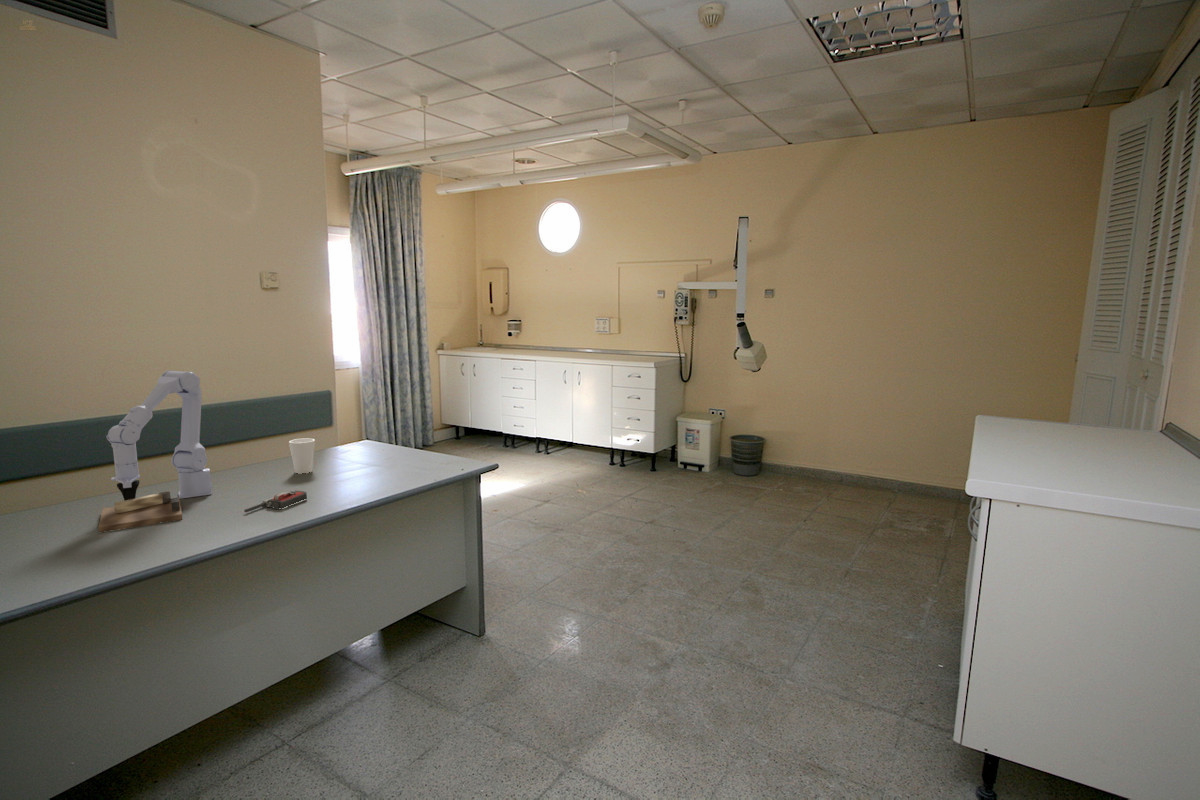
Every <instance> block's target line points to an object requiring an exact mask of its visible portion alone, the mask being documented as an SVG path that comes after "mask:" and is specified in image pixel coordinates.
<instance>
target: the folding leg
mask: <svg viewBox="0 0 1200 800" xmlns="http://www.w3.org/2000/svg"><path fill="white" fill-rule="evenodd" d="M171 499H172V498H171V492H170V491H161V492H157V493H153V494H149V495H144V496H139V497H135V498H134V499H129V500H125V501H124V500H120V501H116V502H114V507H115V512H117V513H123V512H127V511H131V510H136V509H140V508H145V507H149V506H153V505H158V504H162V503H168V502H171Z"/></svg>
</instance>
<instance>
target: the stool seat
mask: <svg viewBox="0 0 1200 800" xmlns="http://www.w3.org/2000/svg"><path fill="white" fill-rule="evenodd" d="M181 519H182V520H183V513H182V505H181V499H179V497H174V498H171V502H168V503H162V504H158V505H153V506H149V507H145V508H140V509H136V510H131V511H127V512H123V513H117V512H115V506H110V507H104V508H103V507H102V511H101V514H100V519H99V524H98V533H99V532H102V533H105V532H104V531H108V532H111V531H110V530H114V531H119V530H118V529H120V530H125V529H124V528H127V529H132V528H131V527H133V528H139V527H145V526H151V525H150V524H152V525H156V524H155V523H158V524H161V523H160V522H164V523H168V522H167V521H170V522H175V521H174V520H176V521H182V520H181ZM144 525H145V526H144ZM138 526H139V527H138Z"/></svg>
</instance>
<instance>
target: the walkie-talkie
mask: <svg viewBox="0 0 1200 800" xmlns="http://www.w3.org/2000/svg"><path fill="white" fill-rule="evenodd" d="M307 496H308V495H307V491H303V490H290V491H282V492H280V493H278V494H277V493H276V494H275V495H274V496H273V497H270V498H267V499H264V500H262V502H261V503H260V504H257V505H253V506H251V507H249V508H248V507H247V508H246V509H244V513H249V512H252V511H255V510H256V509H259V508H262V507H263V508H264V507H265V506H267V507H274V508H276V509H275V510H279V509H278V508H284V507H286V506H289V505H291V504H294V503H296V502H299V501H301V500H304V499H307V500H308V497H307ZM267 507H266V508H267ZM274 508H273V509H274Z"/></svg>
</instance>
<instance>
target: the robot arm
mask: <svg viewBox="0 0 1200 800" xmlns="http://www.w3.org/2000/svg"><path fill="white" fill-rule="evenodd" d="M200 380H201V378H200V377H199V376H198V375H197V374H196V373H194V372H193V371H177V370H176V371H175V370H165V371H164V372H163V373H162V374H161V376H159V377H158V379H157V384H155V386H154V388H153V389H152V390H151V392H150V393H149V394H148V395H147V397H146V398H145V400H144V401H143V402H142V403H141V405H135V406H134V407H131V408H130V409H128V411H129V412H128V413H126V415H125V417H124V418H122V420H120V421H119V423H118V424H117V425H113V426H112V427H111V428H110V429H109V430H108V432H107V434H106V439H107V441H108V442H109V443H110V444H111V445H110V446H111V448H112V453H113V454H112V455H113V462H114V470H115V471H114V472H115V477H114V476H113V477H111V478H110V481H111V482H114V481H115V482H117V483H116V488H117V489H118V490H119V491H120V493H121V495H122V497H123V501H125V500H129V499H134V498H137V497H136V495H137V490H138V487H139V485H140V483H141V482H140V480H139V479H140V477H141V475H140V471H139V463H138V453H137V452H138V451H137V444H136V443H137V442H138V441H139V440H140V439H141V438H140V437H141V433H142V430H143V428H145V426H146V425H147V424H148V423H149V422H150V420H152V418H153V415H154V414H153V411H154V410H155V408H156V407H158V406H159V405H160V404H161V403H162V402H163V400H165V399H166V398H167V397H168V396H169V395H170V394H177V395H178V396H179V397H181V398H182V404H181V405H182V406H181V407H182V408H181V425H180V442H179V444H178V445H176V446H175V448H174V452H173V454H172V456H171V460H170V461H171V464H172V466H173V467H174V468H176V472H177V475H178V477H177V478H178V485H179V488H178V489H179V491H178V492H177V493H178V498H179V499H180V500H181V499H188V498H189V499H190V498H196V497H202V496H203V497H204V496H208V495H212V493H213V492H212V488H213V484H212V481H211V469H210V468H209V467H207V468H206V466H207V464H208V457H207V454H206V453H207V452H206V447H204V446H203V444H202V443H200V436H201V419H202V418H201V417H202V415H201V414H202V399H203V397H202V395H203V393H202V389H201V386H200V383H201V381H200ZM118 482H119V483H118Z"/></svg>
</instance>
